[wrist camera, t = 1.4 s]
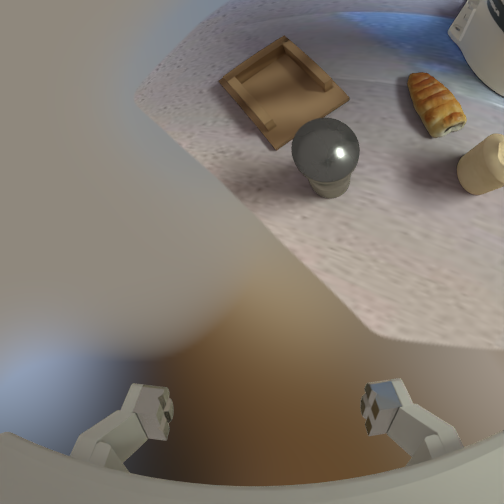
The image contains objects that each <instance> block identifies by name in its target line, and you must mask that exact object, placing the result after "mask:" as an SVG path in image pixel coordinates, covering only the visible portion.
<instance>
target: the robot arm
mask: <svg viewBox="0 0 504 504" xmlns="http://www.w3.org/2000/svg"><path fill="white" fill-rule="evenodd" d="M448 35H449V36H450V37H451V39H452V40H453V41H454V42H455V43H456V44H457V45H458V46H459V48H460V49H461V51H462V53H463V55H464V57H465V59H466V61H467V63H468V64H469V66H470V67H471V69H472V70H473V71H474V73H475V74H476V75H477V76H478V77H479V78H480V79H481V80H482V81H483V82H484V83H485V84H486V85H487V86H488V87H490V88H491V89H492V90H494V91H495V92H497V93H498V94H500V95H502V96H504V0H468V1H467V2H466V4H465V5H464V7H463V8H462V10H461V11H460V13H459V14H458V16H457V17H456V19H455V20H454V22H453V23H452V25H451V26H450V28H449V29H448ZM365 392H366V393H365V394H364V395H363V396H362V399H361V413H362V416H363V417H364V418H365V419H367V420H366V423H365V426H366V430H367V433H368V436H372V435H378V434H384V433H387V435H388V436H389V437H390V438H392V439H393V440H394V441H395V442H396V443H397V444H398V445H399V446H400V447H401V448H403V449H404V450H405V451H406V452H407V453H408V454H409V455H410V456H411V457H412V458H411V460H410V461H409V462H408V464H407V465H406V466H405V467H403V468H400V469H395V470H391V471H387V472H383V473H378V474H373V475H368V476H363V477H358V478H352V479H346V480H339V481H332V482H325V483H314V484H303V485H289V486H265V487H264V486H257V487H256V486H255V487H254V486H248V487H247V486H220V485H206V484H194V483H186V482H177V481H171V480H164V479H158V478H152V477H146V476H140V475H136V474H131V473H129V471H128V470H127V469H126V467H125V466H124V465H123V462H124V461H125V460H126V459H127V458H128V457H129V456H131V455H132V454H133V453H134V452H135V451H136V450H137V449H138V448H139V447H140V446H141V445H142V444H143V443H144V442H145V441H146V440H147V438H150V439H158V440H167V437H168V433H169V429H170V428H169V425H168V423H169V422H170V421H172V417H173V403H172V400H171V399H170V398H169V390H168V388H166V387H158V386H150V385H142V384H135V383H133V384H132V385H131V387H130V389H129V392H128V394H127V396H126V399H125V401H124V403H123V406H122V408H121V410H117V411H115V412H114V413H112V414H111V415H109V416H108V417H106V418H105V419H103V420H102V421H101V422H99V423H98V424H96V425H94V426H93V427H91V428H90V429H88V430H87V431H85V432H84V433H82V434H81V435H80V436H79V437H78V439H77V442H76V444H75V446H74V448H73V450H72V452H71V455H70V456H67V455H64V454H61V453H58V452H55V451H53V450H50V449H48V448H45V447H42V446H40V445H38V444H35V443H33V442H30V441H28V440H26V439H24V438H22V437H19V436H17V435H15V434H13V433H10V432H4V433H1V434H0V504H504V430H502V431H500V432H498V433H496V434H494V435H492V436H490V437H487V438H485V439H483V440H481V441H479V442H476V443H474V444H471V445H469V446H466V447H464V446H463V444H462V442H461V440H460V438H459V436H458V434H457V432H456V430H455V428H454V427H453V426H451V425H449V424H448V423H446V422H444V421H443V420H441V419H440V418H438V417H436V416H435V415H433V414H432V413H430V412H428V411H427V410H425V409H424V408H422V407H421V406H419V405H417V404H413V402H412V400H411V398H410V396H409V394H408V392H407V389H406V388H405V385H404V383H403V381H402V380H401V379H400V378H397V379H391V380H385V381H378V382H372V383H367V384H366V386H365Z"/></svg>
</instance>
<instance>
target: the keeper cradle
mask: <svg viewBox="0 0 504 504" xmlns="http://www.w3.org/2000/svg"><path fill="white" fill-rule="evenodd" d="M219 83H220V84H221V85H222V86H223V87H224V88H225V90H226V91H227V92H228V93H229V94H230V95H231V96H232V98H233V99H234V100H235V101H236V102H237V103H238V105H239V106H240V107H241V108H242V109H243V110H244V112H245V113H246V114H247V115H248V116H249V118H250V119H251V120H252V121H253V122H254V124H255V125H256V126H257V127H258V128H259V130H260V131H261V132H262V133H263V135H264V136H265V137H266V138H267V140H268V141H269V142H270V143H271V145H272V146H273V147H274V148H275V150H276V151H277V150H278V149H279V148H281V147H282V146H283V145H285V144H286V143H288V142H289V141H290V140H292V139H293V138H294V136H295V134H296V132H297V131H298V130H299V129H300V128H301V127H302V126H303V125H304V124H305V123H307V122H309V121H311V120H314V119H317V118H323V117H325V116H326V115H328V114H329V113H331V112H332V111H334V110H335V109H337V108H338V107H340V106H341V105H343V104H344V103H346V102H347V101H349V97H348V96H347V94H346V93H345V92H344V91H343V90H342V89H341V88H340V87H339V86H338V85H337V84H336V83H335V82H334V81H333V80H332V78H331V77H330V76H329V75H328V74H327V73H326V72H325V71H323V70H322V69H321V68H320V67H319V66H318V65H317V64H316V63H315V62H314V61H313V60H312V59H311V58H310V57H308V56H307V55H306V54H305V53H304V52H303V51H302V50H301V49H299V48H298V47H297V46H296V45H295V44H294V43H293V42H291V41H290V40H289V39H288V38H287V37H285V36H283V37H281V38H279V39H278V40H276V41H275V42H273V43H271V44H270V45H268V46H267V47H265V48H264V49H262V50H260V51H259V52H257V53H256V54H254V55H253V56H251V57H250V58H249V59H247V60H246V61H244V62H243V63H241V64H240V65H238V66H237V67H236V68H234V69H233V70H231V71H230V72H229V73H227V74H226V75H225V76H223V78H222V79H221V80H219Z"/></svg>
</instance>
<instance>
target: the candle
mask: <svg viewBox="0 0 504 504" xmlns="http://www.w3.org/2000/svg"><path fill="white" fill-rule="evenodd" d="M457 176H458V179H459V182H460V184H461V185H462V187H463V188H464V189H465V190H466V191H467V192H469V193H471V194H473V195H481V194H484V193H487V192H490V191H493V190H495V189H498V188H501V187H503V186H504V135H501V134H492V135H490V136H488V137H487V138H486V139H484V140H483V141H482V142H481V143H479V144H478V145H477V146H475V147H474V148H473V149H471V150H470V151H469V152H468V153H466V154H465V155H464V156H463V157H462V158H461V159H460V160H459V162H458V165H457Z"/></svg>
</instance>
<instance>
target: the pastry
mask: <svg viewBox="0 0 504 504" xmlns="http://www.w3.org/2000/svg"><path fill="white" fill-rule="evenodd" d="M407 85H408V88H409V91H410V96H411V98H412V101H413V106H414V108H415V110H416V112H417V113H418V114H419V116H420V118H421V120H422V123H423V124H424V126H425V127H426V129H427V131H428V132H429V134H430V135H431V136H432V137H434V138H437V137H443V136H445V135H446V134H448V133H450V132H451V131H458V130H460V129H462V128H463V127H464V125H465V123H466V121H467V120H466V116H465V115H464V113H463V110H462V108H461V105H460V103H459V102H458V101H457V100H456V99H455V97H454V95H453V94H452V93H451V92H450V91H449V90H448V89H447V88H446V87H444V85H443V84H441V83H440V82H439V81H438V80H436V79H435V78H434V77H432V76H430V75H429V74H428V73H423V72H421V73H412V74H410V76H409V79H408V82H407Z"/></svg>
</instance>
